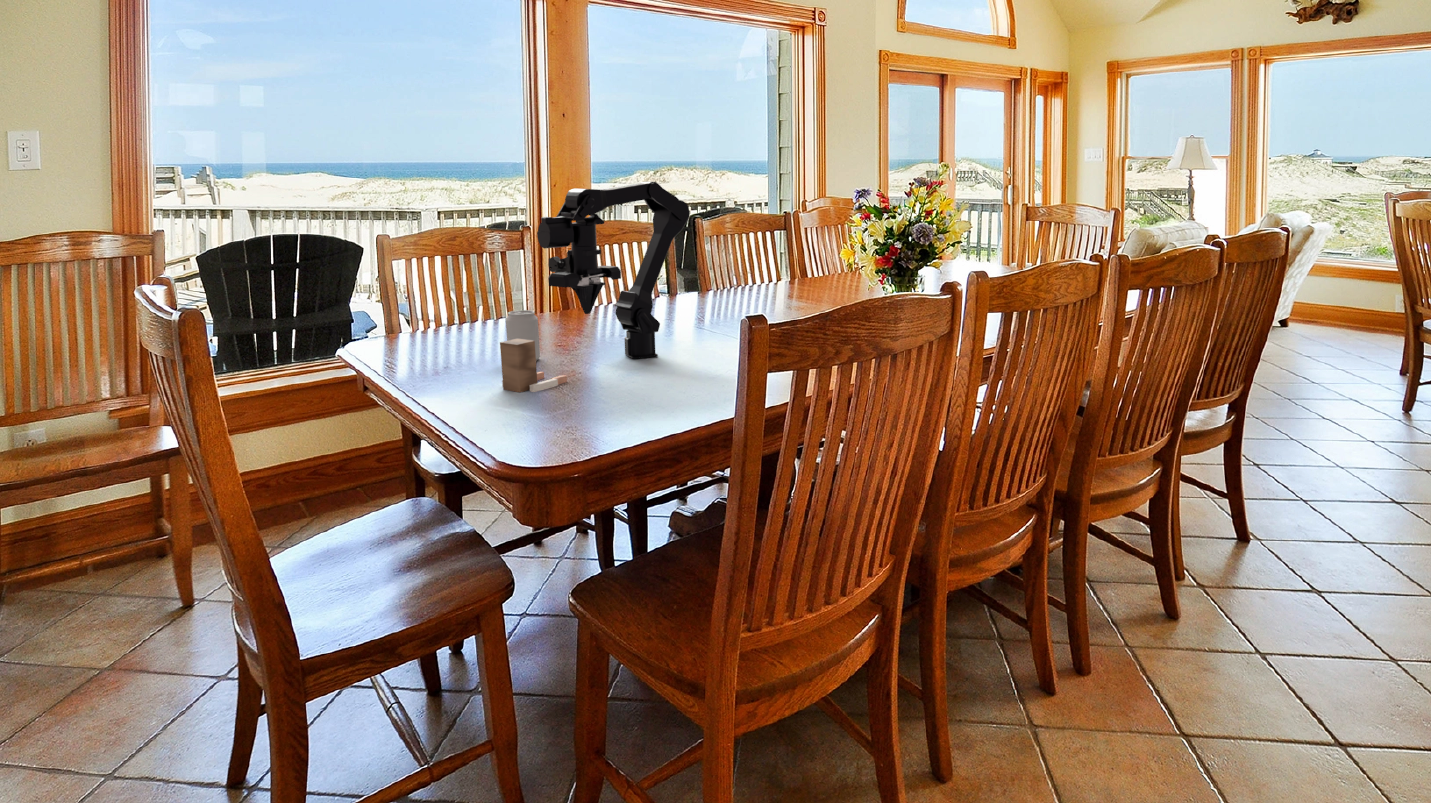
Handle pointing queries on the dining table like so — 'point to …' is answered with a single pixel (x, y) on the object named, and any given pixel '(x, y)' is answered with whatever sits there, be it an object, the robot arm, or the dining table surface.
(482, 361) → the dining table surface
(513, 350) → the block
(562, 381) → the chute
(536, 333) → the can
